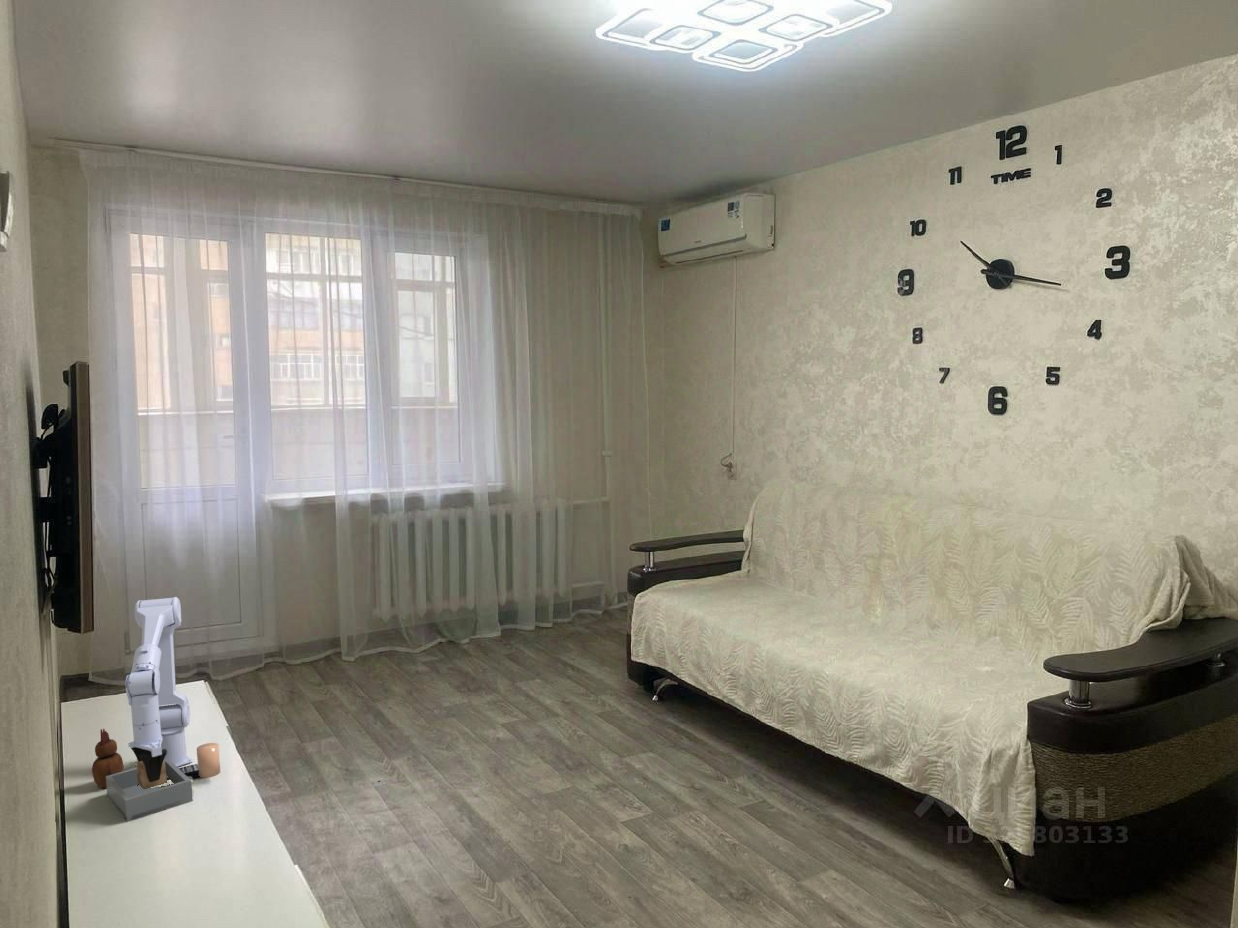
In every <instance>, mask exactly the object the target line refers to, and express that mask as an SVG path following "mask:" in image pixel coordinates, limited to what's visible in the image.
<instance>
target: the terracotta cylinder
mask: <svg viewBox="0 0 1238 928" xmlns="http://www.w3.org/2000/svg"><path fill="white" fill-rule="evenodd" d="M196 757H197V769H198V770H197V771H199V772H198V777H199V776H200V777H199V778H201V779H208V778H209V779H210V778H212V777H215V776H218V775H219V774H221V761H220V748H219V743H216V742H208V743H204V744H200V745H199V746H197V747H196Z"/></svg>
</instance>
